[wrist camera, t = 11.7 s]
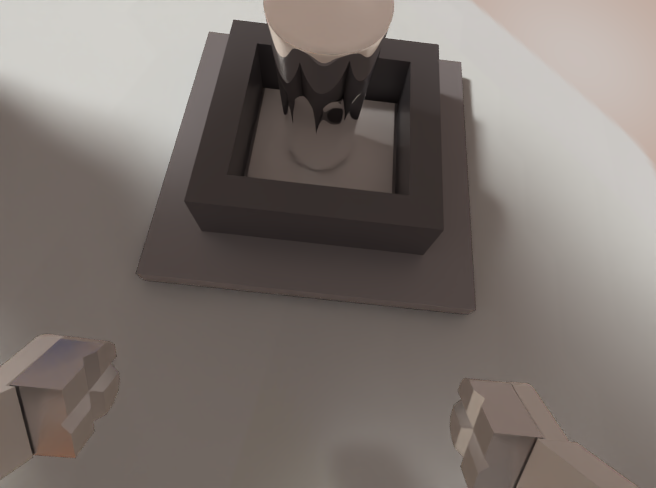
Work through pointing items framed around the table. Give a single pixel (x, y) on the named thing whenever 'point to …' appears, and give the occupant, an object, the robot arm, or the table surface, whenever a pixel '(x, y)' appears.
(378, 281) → the square planter tray
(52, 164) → the table surface
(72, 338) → the robot arm
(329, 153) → the milkshake
